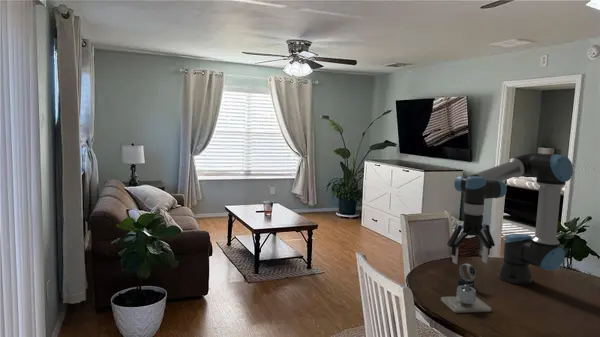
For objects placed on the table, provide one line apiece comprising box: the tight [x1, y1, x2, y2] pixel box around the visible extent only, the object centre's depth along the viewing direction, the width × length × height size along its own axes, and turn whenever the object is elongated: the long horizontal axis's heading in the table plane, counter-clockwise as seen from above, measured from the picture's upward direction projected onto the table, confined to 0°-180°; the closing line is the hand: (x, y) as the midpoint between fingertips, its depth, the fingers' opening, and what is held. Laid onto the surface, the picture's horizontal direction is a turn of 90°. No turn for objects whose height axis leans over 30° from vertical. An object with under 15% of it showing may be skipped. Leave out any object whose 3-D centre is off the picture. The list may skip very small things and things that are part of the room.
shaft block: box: [440, 284, 492, 314], centre depth 176 cm, size 16×12×9 cm
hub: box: [455, 286, 477, 304], centre depth 176 cm, size 7×7×5 cm
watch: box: [457, 263, 477, 288], centre depth 197 cm, size 6×8×11 cm
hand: (469, 262), depth 175 cm, fingers open, 13 cm apart
